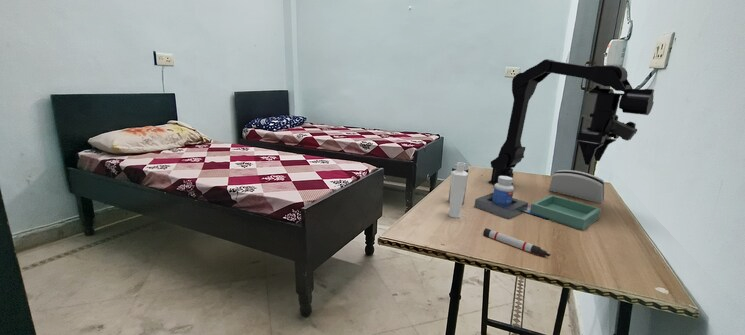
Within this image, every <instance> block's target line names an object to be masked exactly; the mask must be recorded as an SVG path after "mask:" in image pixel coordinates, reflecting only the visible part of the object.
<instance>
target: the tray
mask: <svg viewBox="0 0 745 335" xmlns="http://www.w3.org/2000/svg"><path fill="white" fill-rule="evenodd" d="M530 206H531V209H530V213H533V214H536V215H539V216H542V217H545V218H548V219H549V220H548V221H552V222H555V223H558V224H561V225H565V226H568V227H569V228H574V229H576V230H580V231H584V230H585V229H586V228H588V227H589V226H591V225H592V224H593V223H594V222H597V221H598V219H600V216H601V215H600V214H601V211H602V208H601V207H597V206H593V205H590V204H587V203H582V202H580V201H576V200H571V199H569V198H565V197H562V196H557V195H554V194H549V195H548V196H545V197H543V198H541V199H539V200H538V199H537V201H535V202H532V203H531V205H530Z"/></svg>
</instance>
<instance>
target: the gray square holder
mask: <svg viewBox="0 0 745 335" xmlns="http://www.w3.org/2000/svg"><path fill="white" fill-rule="evenodd" d="M492 198H493V192H491V193H488V194H486V195H482V196H480V197H478V198H475V200H474V208H476V209H480V210H482V211H485V212H488V213H490V214H493V215H496V216H499V217H501V218H505V219H508V220H510V219H512V218H515V217H516V216H519V215H521V214H524V213H523V212H524V211H526V210H527V208H528V205H529V202H528V201H524V200H521V199H518V198H515V197H512V202H511V205H510V206H507V207H506V206H503V205H500V204H497V203H494V202H492Z"/></svg>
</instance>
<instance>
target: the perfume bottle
mask: <svg viewBox="0 0 745 335" xmlns="http://www.w3.org/2000/svg"><path fill="white" fill-rule="evenodd" d="M456 163H457V170H455V171H452V170H451V171H450V182H451V187H450V186H449V191H450V201H449V209H448V212H447V215H448V216H449V217H450V218H457V219H458V218H459V219H460V218H461V217H462V207H463V203H462V202H463V198H464V193H465V194H466V192H465V188H466V189H467V185H466V183H468V177H469V172H468V173H467V172H466V171H464V165H465V164H466V163H465V162H460V161H459V162H456Z"/></svg>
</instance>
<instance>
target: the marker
mask: <svg viewBox="0 0 745 335" xmlns="http://www.w3.org/2000/svg"><path fill="white" fill-rule="evenodd" d="M482 235H483V236H485V237H487V238H490V239H493V240H495V241H498V242H500V243H503V244H505V245H508V246H512V247H514V248H517V249H519V250H522V251H525V252H527V253H530V254H533V255H536V256H542V257H546V256H547V257H550V256H551V255H552V254H550V253H548V252H547V250H544V249H543V248H541V246H537V245H535V244H532V243H529V242H526V241H525V240H520V239H519V238H515V237H513V236H510V235H507V234H504V233H502V232H499V231H496V230H493V229H490V228H484V229H483V233H482Z"/></svg>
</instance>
